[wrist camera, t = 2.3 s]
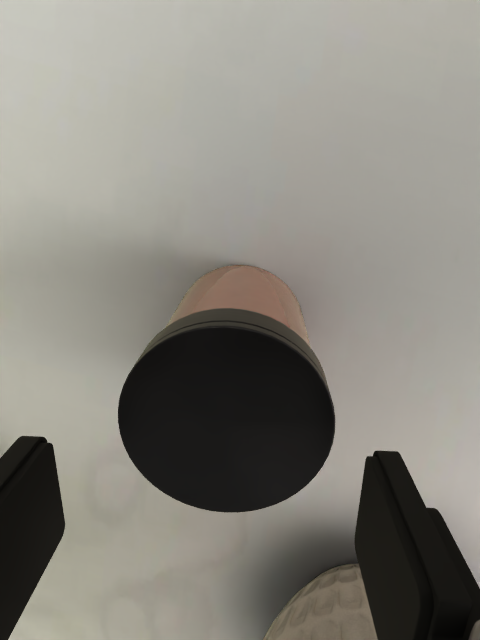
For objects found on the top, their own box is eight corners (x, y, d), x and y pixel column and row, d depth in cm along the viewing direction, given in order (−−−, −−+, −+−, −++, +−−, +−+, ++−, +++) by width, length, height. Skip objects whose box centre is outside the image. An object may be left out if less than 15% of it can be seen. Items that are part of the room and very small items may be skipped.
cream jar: (307, 266, 21) (334, 331, 13) (298, 384, 23) (317, 501, 15) (175, 262, 21) (122, 323, 13) (179, 379, 23) (135, 492, 15)
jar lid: (339, 310, 14) (349, 330, 12) (321, 483, 16) (327, 518, 14) (126, 303, 14) (108, 321, 12) (139, 474, 16) (125, 507, 15)
